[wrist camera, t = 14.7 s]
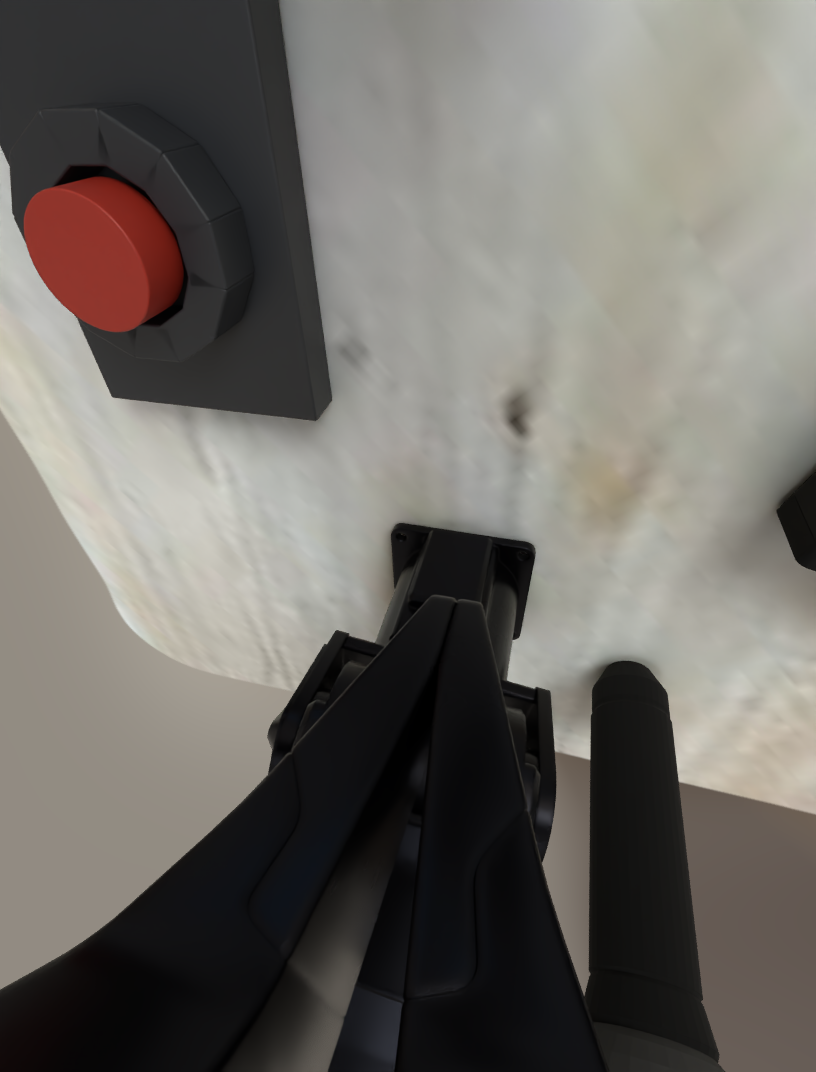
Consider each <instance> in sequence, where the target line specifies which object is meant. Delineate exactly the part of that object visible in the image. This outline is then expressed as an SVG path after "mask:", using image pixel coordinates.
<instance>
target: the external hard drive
mask: <svg viewBox="0 0 816 1072" xmlns="http://www.w3.org/2000/svg"><path fill="white" fill-rule="evenodd" d="M777 514H778V517H779V519H780V522H781V525H782V527H783V530H784V532H785V535H786V537H787V540H788V542H789V545H790V547H791V550H792V552H793V555H794V557H795V560H796V561H797V562H798V563H799V564H800V565H802V566H803V567H805V568H808V569H811V570H813V571H816V472H815V473H814V474H813V475H812V476H811V477H810V478H809V479H808V480H807V481H806V482H805V483H804V484H803V485H802V486H801V487H800V488H799V489H798V490H797V491H796V492H795V493H794V494H793V495H792V496H791V497H790V498H789V499H788V500H787V501H786V502H784V503H783V504H782V505H781V506H780V507H779V508H778V509H777Z"/></svg>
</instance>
